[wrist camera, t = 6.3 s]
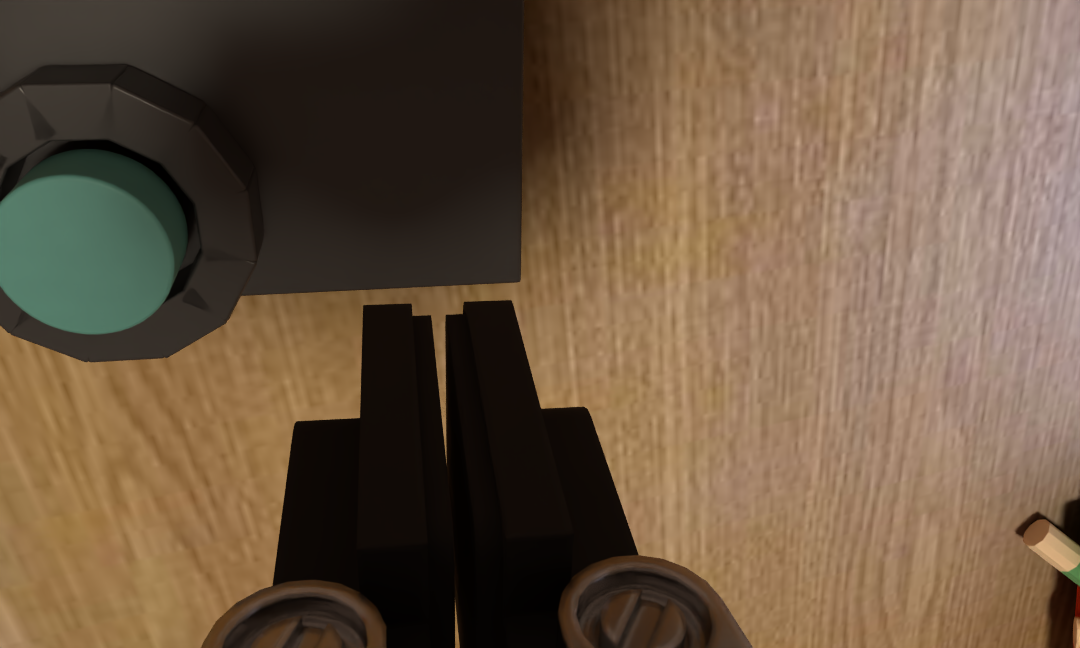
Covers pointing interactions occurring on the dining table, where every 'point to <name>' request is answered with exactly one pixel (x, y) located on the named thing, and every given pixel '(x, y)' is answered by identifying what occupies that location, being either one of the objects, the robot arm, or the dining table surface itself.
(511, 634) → the robot arm
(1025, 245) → the dining table surface
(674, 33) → the dining table surface
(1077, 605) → the toy figurine
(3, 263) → the button
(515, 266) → the scale
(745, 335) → the dining table surface
